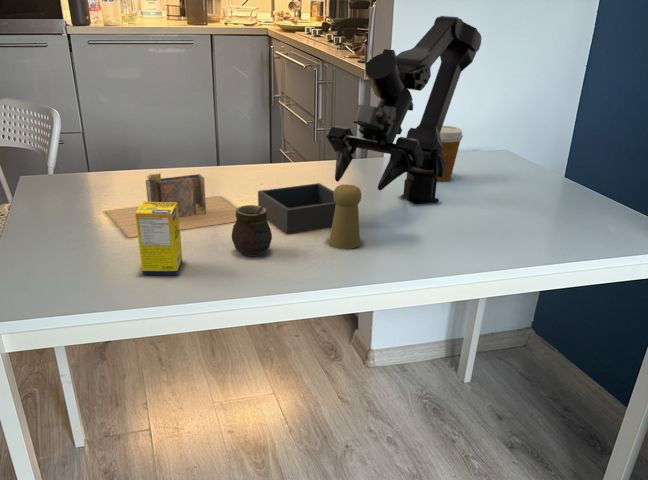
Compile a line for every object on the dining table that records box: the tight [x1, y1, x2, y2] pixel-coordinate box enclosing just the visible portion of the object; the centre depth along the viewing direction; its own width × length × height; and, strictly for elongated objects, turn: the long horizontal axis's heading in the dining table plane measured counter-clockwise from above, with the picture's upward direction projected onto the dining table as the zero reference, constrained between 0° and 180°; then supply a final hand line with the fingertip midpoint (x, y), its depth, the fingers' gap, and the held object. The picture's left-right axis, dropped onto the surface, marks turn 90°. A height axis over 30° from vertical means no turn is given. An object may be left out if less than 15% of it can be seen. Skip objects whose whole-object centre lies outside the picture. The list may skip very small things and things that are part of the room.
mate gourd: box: [231, 204, 273, 257], centre depth 120 cm, size 7×8×10 cm
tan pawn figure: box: [328, 184, 362, 250], centre depth 126 cm, size 6×6×11 cm
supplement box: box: [136, 201, 183, 276], centre depth 112 cm, size 6×6×11 cm
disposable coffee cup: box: [437, 125, 464, 182], centre depth 166 cm, size 10×10×12 cm
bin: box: [257, 182, 336, 235], centre depth 139 cm, size 15×14×5 cm
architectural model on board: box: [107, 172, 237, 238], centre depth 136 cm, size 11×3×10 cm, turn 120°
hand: (357, 184), depth 126 cm, fingers open, 9 cm apart
